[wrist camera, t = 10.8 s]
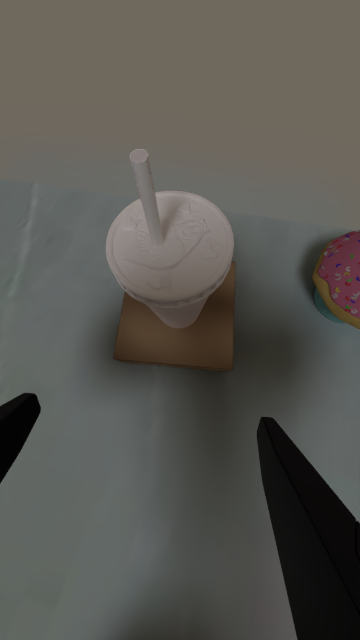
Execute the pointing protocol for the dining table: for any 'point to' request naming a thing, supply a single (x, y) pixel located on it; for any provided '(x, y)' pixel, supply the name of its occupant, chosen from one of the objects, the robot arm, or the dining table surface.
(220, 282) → the smoothie
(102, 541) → the dining table surface
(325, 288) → the cupcake
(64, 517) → the dining table surface
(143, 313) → the plinth
